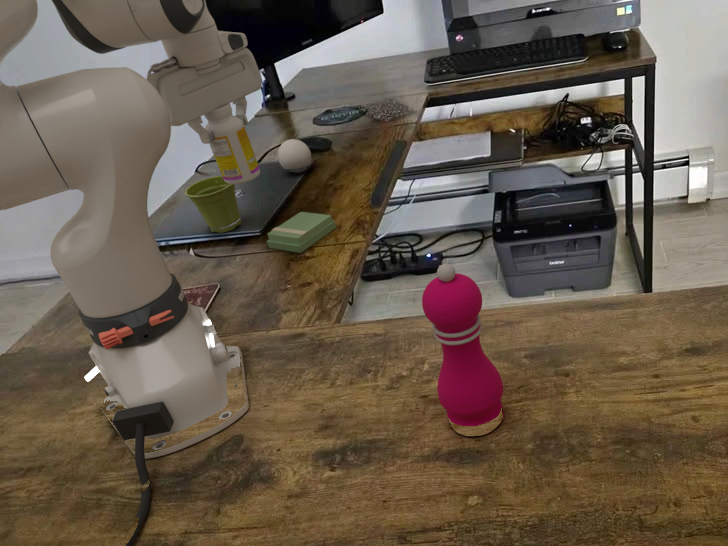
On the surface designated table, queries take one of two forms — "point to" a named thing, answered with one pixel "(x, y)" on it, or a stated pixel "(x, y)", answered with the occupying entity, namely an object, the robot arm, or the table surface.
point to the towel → (300, 232)
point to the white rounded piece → (294, 155)
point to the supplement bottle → (231, 146)
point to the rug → (384, 109)
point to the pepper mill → (462, 349)
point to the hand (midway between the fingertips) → (226, 133)
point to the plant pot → (215, 203)
